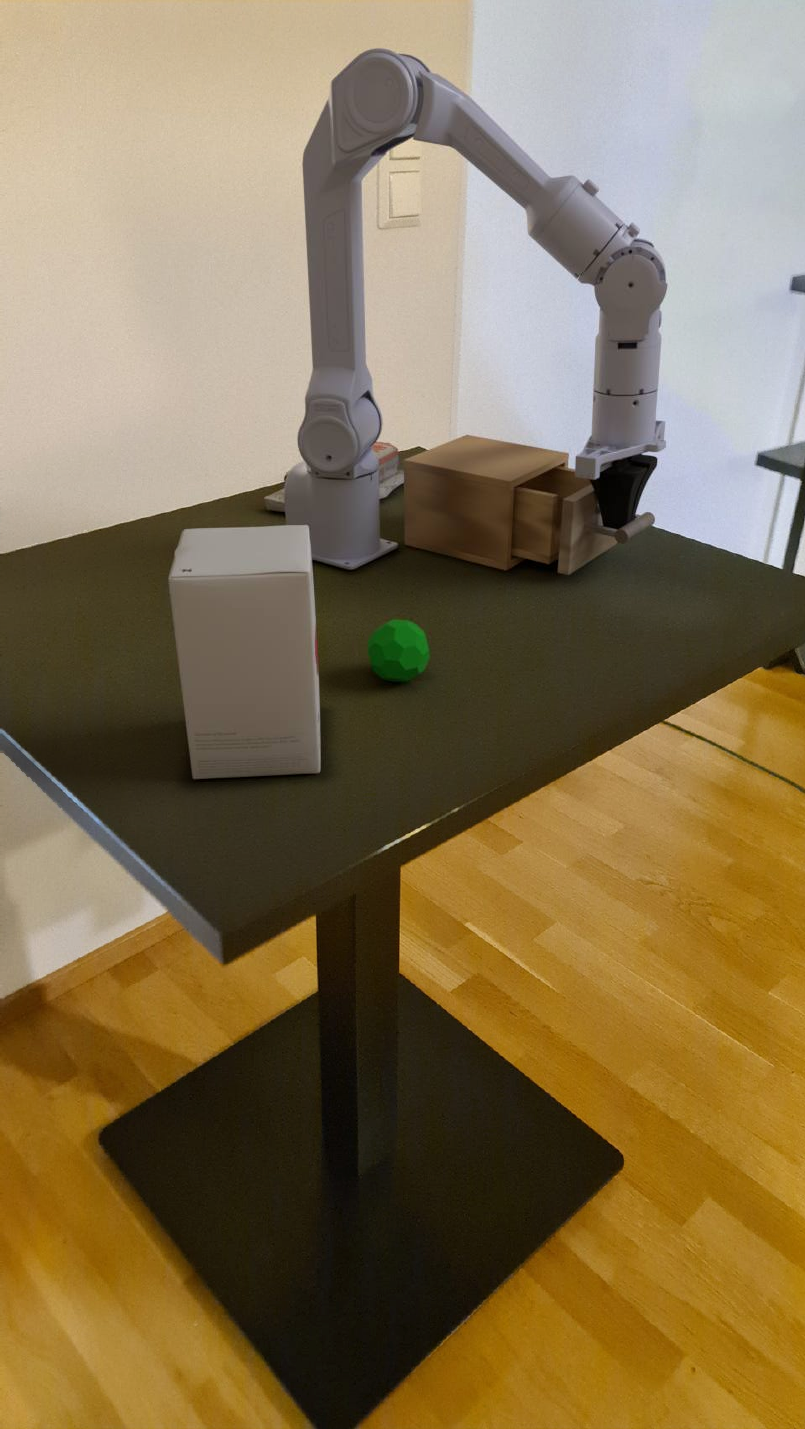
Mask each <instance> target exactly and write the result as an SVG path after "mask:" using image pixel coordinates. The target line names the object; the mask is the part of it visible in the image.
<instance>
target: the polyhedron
mask: <svg viewBox="0 0 805 1429" xmlns="http://www.w3.org/2000/svg"><path fill="white" fill-rule="evenodd" d="M426 636H427V635H426V633H425V631H424V630H423V629H422V628H421V627H419V626H418V625H417V624H416V623H415V622H413V621H410V620H406V619H394V618H393V619H390V620H389V621H387V622H386V623H384V624H382V625H380V626H379V627H378V628H376V629H375V630H374V631H372V632H371V634H370V636H369V638H368V641H367V643H366V648H367V652H368V653H367V654H368V657H369V661H370V666H371V669H372V672H374V673H375V675H377V676H379V678H381V679H382V680H385V681H388V682H392V683H393V682H395V683H405V682H406V683H407V682H409V681H411V680H412V679H414V678H415V677H417V676H418V675H420V674H421V673H423V671H425V670H426V668H427V665H428V663H429V661H430V658H431V654H430V648H429V645H428V640H427V637H426Z"/></svg>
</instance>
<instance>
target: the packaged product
mask: <svg viewBox="0 0 805 1429" xmlns="http://www.w3.org/2000/svg"><path fill="white" fill-rule="evenodd" d="M372 449H373V451H374V454H375V456H376V458H377V459H378V461H379V500H381V499H384V498H387V497H388V496H389V495H390V493H391V492H392V491H394V490H395V489H397V488H398V487H399V486H401V485H404V469H398V467H399V466H400V458H399V449H398V447H396V446H395V445H392V444H391V443H390V442H383V441H376V442H375V443H374V444H373V445H372ZM290 470H291V469H289V470H288V471H286V472H285V474H284V476H283V483H284V484H285V482H286V478H287V475H288V473H289V471H290ZM263 500H264V503H265V506H266V510H268V511H274V512H282V513H285V501H284V488H282V489H280V490H278V491H276V492H273V493H272V494H269V495H266V496H264V499H263Z"/></svg>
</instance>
